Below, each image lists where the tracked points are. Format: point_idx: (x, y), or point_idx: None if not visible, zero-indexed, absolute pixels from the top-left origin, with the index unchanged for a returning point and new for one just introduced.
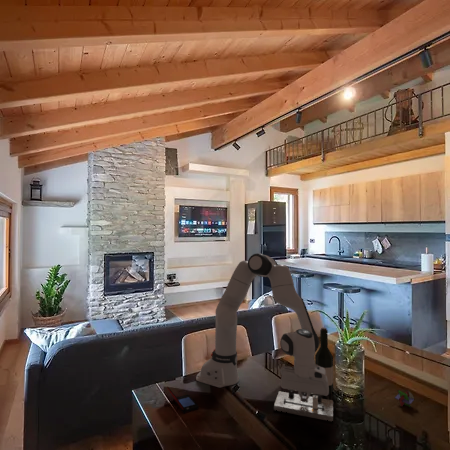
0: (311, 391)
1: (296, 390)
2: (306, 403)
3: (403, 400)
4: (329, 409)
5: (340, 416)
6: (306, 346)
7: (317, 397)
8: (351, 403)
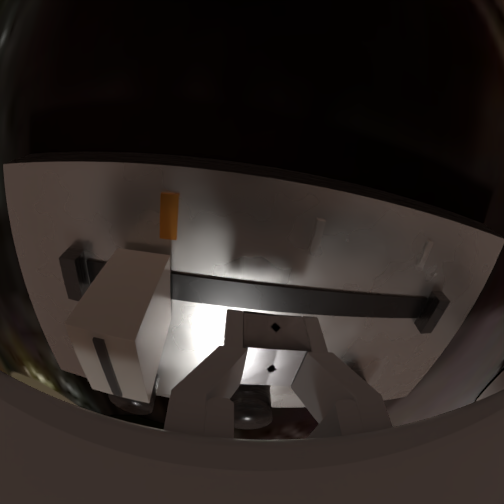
0: (113, 458)
1: (430, 420)
2: None
3: None
4: (38, 269)
5: (9, 240)
6: None
7: (81, 362)
8: (21, 357)
